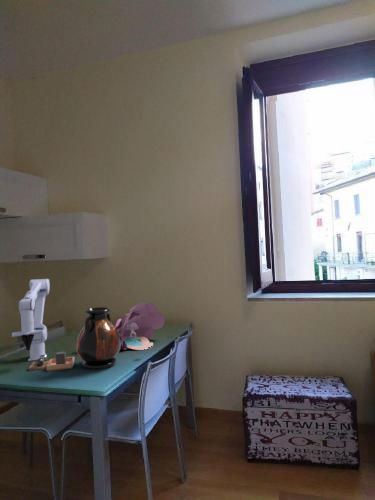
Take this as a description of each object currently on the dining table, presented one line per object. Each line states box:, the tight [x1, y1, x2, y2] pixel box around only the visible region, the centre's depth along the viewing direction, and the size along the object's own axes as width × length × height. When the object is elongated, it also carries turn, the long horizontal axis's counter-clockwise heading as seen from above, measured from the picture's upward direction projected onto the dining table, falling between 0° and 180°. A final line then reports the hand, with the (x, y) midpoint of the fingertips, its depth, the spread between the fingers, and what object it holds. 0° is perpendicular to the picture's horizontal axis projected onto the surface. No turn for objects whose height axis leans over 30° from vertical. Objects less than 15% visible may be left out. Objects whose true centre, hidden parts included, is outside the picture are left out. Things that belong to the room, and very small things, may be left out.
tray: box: [45, 356, 75, 372], centre depth 174 cm, size 12×12×2 cm
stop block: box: [55, 350, 66, 365], centre depth 174 cm, size 4×4×6 cm
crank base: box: [27, 359, 50, 372], centre depth 175 cm, size 12×8×1 cm, turn 12°
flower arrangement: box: [115, 301, 165, 351], centre depth 206 cm, size 35×24×28 cm
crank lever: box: [36, 355, 48, 366], centre depth 176 cm, size 12×4×4 cm, turn 13°
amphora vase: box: [76, 306, 121, 371], centre depth 173 cm, size 22×22×28 cm
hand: (28, 349), depth 175 cm, fingers closed
